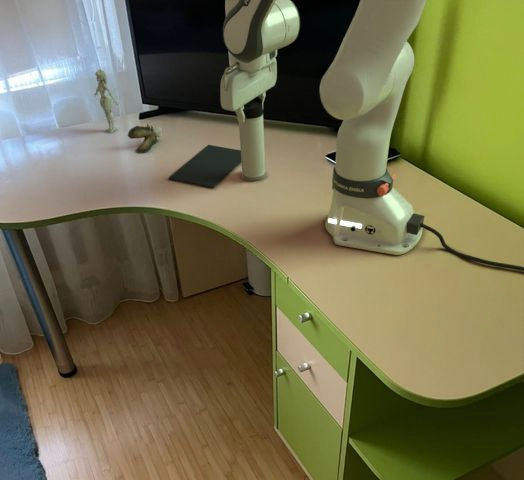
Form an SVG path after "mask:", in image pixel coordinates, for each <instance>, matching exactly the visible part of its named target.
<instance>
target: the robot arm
mask: <svg viewBox="0 0 524 480" xmlns="http://www.w3.org/2000/svg"><path fill="white" fill-rule="evenodd" d="M427 1H428V0H359V4H358V6H357V9H356V11H355V13H354V15H353V18H352V20H351V22H350V25H349V27H348V28H347V30H346V33H345V35H344V37H343V39H342V41H341V44H340V46H339V48H338V51H337V53H336V55H335V57H334V59H333V61H332V62H331V64H330V66H329V67H328V68H327V70H326V72H325V73H324V74H323V76H322V78H321V79H320V83H319V98H320V101H321V104H322V106H323V108H324V109H325V111H326V112H327V113H328V114H329V115H330V116H331V117H333V118H335V119H336V120H341V121H342V122H341V124H340V126H339V128H338V131H337V134H336V145H335V147H336V148H335V165H334V167H333V170H332V180H331V185H332V186H331V187H332V188H331V189H332V198H331V203H330V208H329V211H328V214H327V217H326V219H325V222H324V226H325V229H326V231H327V232H328V233H329V234H330V235H331V237H332V239H333V242H334V244H335V245H337V246H342V247H347V248H353V249H359V250H365V251H370V252H375V253H376V252H377V253H383V254H388V255H394V256H401V255H403V254H406V253H409V251H411V250H412V249H413V248H415V247H416V245H417V244H418V243H419V241H420V240H421V238H422V235H423V229H424V230H425V231H428V232H430V233H432V234H434V235H435V236H436V237H437V238H438V240H439V242H440V244H441V246H442V247H443V248H444V249H445V250H446V251H447V252H449V253H451V254H453V255H456V256H457V257H460V258H463V259H465V260H469V261H473V262H476V263H480V264H483V265H488V266H493V267H498V268H504V269H510V270H516V271H521V272H524V266H522V265H515V264H509V263H503V262H497V261H492V260H488V259H483V258H480V257H476V256H472V255H469V254H465V253H462V252H459V251H457V250H455V249H453V248H452V247H450V246H449V245H448V244H447V243H446V241H445V239H444V237H443V235H442V233H440V232H439V231H438V230H437V229H435V228H433V227H431V226H429V225H427V224H425V223H424V221H425V215H424V214H418V213H415V211H414V207H413V205H412V204H411V203H410V202H409V201H408V200H407V199H406V198H405V197H404V196H403V195H402V194H401V193H400V192H398V190H397V189H396V188H394V187H393V185H394V182H395V180H396V178H397V177H396V175H397V173H396V172H395V173H394V174H393V175H392V176H391V174H390V172H389V171H388V168H387V164H388V157H389V149H390V142H391V136H392V132H393V129H394V125H395V123H396V122H395V121H396V118H397V115H398V112H399V109H400V105H401V102H402V98H403V95H404V91H405V88H406V85H407V83H408V81H409V78H410V76H411V75H412V73H413V70H414V67H415V54H414V50H413V48H412V46H411V45H410V43H409V42H408V40H409V38H410V36H411V35H412V33H413V32H414V30H415V29H416V28H417V26H418V24H419V22H420V20H421V17H422V14H423V11H424V8H425V6H426V4H427ZM224 3H225V4H224V8H225V10H224V11H225V17H224V18H225V19H224V22H223V26H222V39H223V43H224V46H225V49H227V52H228V63H229V66H228V67H226V68H225V69H224V72H223V75H222V76H221V80H220V89H219V90H220V91H219V92H220V95H219V96H220V106H221V108H222V109H223V110H224V111H229V112H235V114H236V116H237V122H238V123H239V122H240V123H244V122H245V121H246V120H247V118H246V117H247V115H246V114H244V112H243V109H244V105H245V104H246V103H248V102H249V101H251V100H253V99H254V98H256V97H260V99H261V100H262V105H263V106H264V102H265V98H266V95H267V94H266V92H267V91H268V90H270V89H272V88H273V87H275V85H276V82H277V79H278V78H277V77H278V66H277V65H278V64H277V59H276V57H277V56H278V50H280V49H283V48H284V47H287V46H289V45H291V44H293V43H294V42H295V41H296V40H297V38H298V36H299V33H300V29H301V17H300V12H299V10H298V8H297V6H296V4H295V3H294V1H292V0H224Z"/></svg>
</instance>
